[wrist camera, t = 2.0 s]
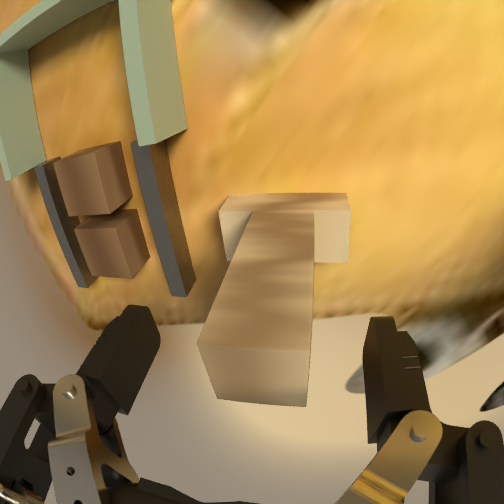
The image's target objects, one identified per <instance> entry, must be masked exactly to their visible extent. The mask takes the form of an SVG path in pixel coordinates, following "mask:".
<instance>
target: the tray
mask: <svg viewBox="0 0 504 504" xmlns="http://www.w3.org/2000/svg"><path fill="white" fill-rule="evenodd" d="M112 1H114V0H42V1H41V2H39V3H38V4H37V5H35V6H34V7H33V8H31V9H30V10H29V11H27V12H26V13H25V14H24V15H22V16H21V17H20V18H19V19H17V20H16V21H15V22H14V23H13V24H11V25H10V26H9V27H8V28H7V29H6V30H5V31H3V32H2V33H1V34H0V162H1V166H2V169H3V173H4V177H5V180H6V181H8V180H11V179H13V178H15V177H17V176H18V175H20V174H22V173H24V172H26V171H27V170H29V169H31V168H33V167H35V166H37V165H39V164H41V163H43V162H45V161H47V160H46V156H45V152H44V148H43V144H42V139H41V135H40V130H39V125H38V120H37V115H36V109H35V104H34V97H33V91H32V83H31V75H30V66H29V56H28V49H30V48H31V47H33V46H34V45H35V44H37V43H38V42H40V41H41V40H43V39H44V38H46V37H48V36H49V35H51V34H52V33H54V32H56V31H57V30H59V29H60V28H62V27H64V26H66V25H67V24H69V23H71V22H73V21H74V20H76V19H78V18H80V17H82V16H84V15H85V14H87V13H89V12H91V11H93V10H95V9H97V8H99V7H101V6H104V5H106V4H108V3H110V2H112ZM118 1H119V14H120V25H121V35H122V45H123V53H124V61H125V68H126V76H127V82H128V89H129V95H130V101H131V107H132V113H133V119H134V124H135V129H136V135H137V140H138V145H139V146H144V145H150V144H156V143H158V142H160V141H162V140H164V139H166V138H168V137H171V136H173V135H175V134H177V133H179V132H181V131H183V130H186V129H188V128H187V122H186V116H185V109H184V102H183V96H182V89H181V82H180V74H179V67H178V59H177V51H176V43H175V35H174V26H173V17H172V8H171V0H118Z"/></svg>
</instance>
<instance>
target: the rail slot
mask: <svg viewBox="0 0 504 504" xmlns="http://www.w3.org/2000/svg"><path fill="white" fill-rule="evenodd" d="M131 147H132V152H133V157H134V161H135V166H136V170H137V174H138V179H139V183H140V187H141V191H142V195H143V199H144V203H145V207H146V211H147V215H148V218H149V222H150V226H151V229H152V233H153V236H154V240H155V243H156V247H157V250H158V254H159V257H160V260H161V264H162V267H163V270H164V273H165V277H166V280H167V283H168V286H169V289H170V292H171V295H172V296H180V297H187V296H188V294H189V292H190V290H191V288H192V286H193V284H194V283H195V281H196V278H195V274H194V270H193V267H192V263H191V258H190V254H189V250H188V246H187V242H186V238H185V233H184V229H183V225H182V220H181V216H180V211H179V207H178V202H177V198H176V193H175V188H174V183H173V178H172V173H171V168H170V163H169V158H168V153H167V148H166V142H165V139H164V140H162V141H160V142H158V143H156V144H150V145H144V146H139V145H138V140H136V141H133V142H131ZM58 160H60V157H56V158H53V159H50V160H48V161H46V162H44V163H42V164H40V165H38V166H37V167H35V168H34V170H35V173H36V177H37V180H38V184H39V187H40V190H41V193H42V197H43V200H44V203H45V206H46V209H47V211H48V214H49V217H50V220H51V223H52V225H53V228H54V231H55V233H56V236H57V239H58V241H59V244H60V246H61V248H62V251H63V253H64V256H65V258H66V260H67V263H68V265H69V267H70V269H71V272H72V274H73V276H74V278H75V280H76V283H77V285H78V287H83V288H88V287H89V286H90V285H91V284H92V283H93V281H94V280H95V279H96V278H97V277H98V276H92V275H91V272H90V270H89V267H88V265H87V262H86V260H85V257H84V255H83V252H82V250H81V247H80V244H79V242H78V239H77V236H76V234H75V231H74V229H75V228H76V227H77V226H79V225H80V222H79V219H78V216H70V217H69V215H68V212H67V209H66V206H65V203H64V199H63V196H62V193H61V189H60V186H59V182H58V179H57V175H56V172H55V168H54V164H53V163H54V162H56V161H58Z"/></svg>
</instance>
